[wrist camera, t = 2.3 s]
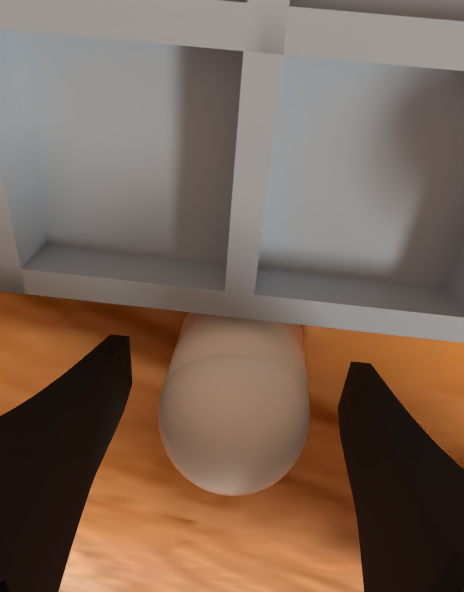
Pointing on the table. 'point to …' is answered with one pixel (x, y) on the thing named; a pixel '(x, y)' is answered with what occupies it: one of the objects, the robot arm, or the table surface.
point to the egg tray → (238, 158)
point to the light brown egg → (235, 403)
